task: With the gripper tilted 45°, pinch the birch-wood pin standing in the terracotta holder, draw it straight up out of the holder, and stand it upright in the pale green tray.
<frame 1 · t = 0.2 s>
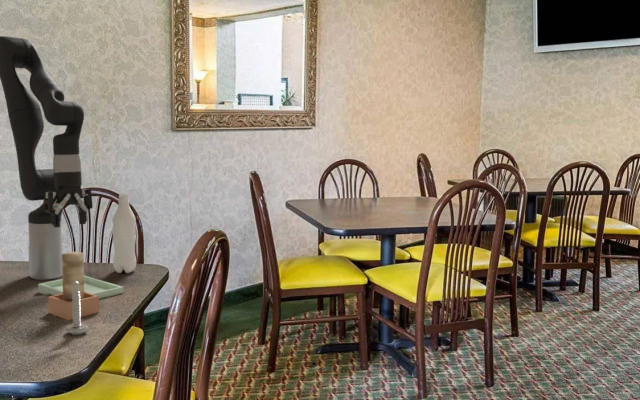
hand: (69, 225, 186), 18 cm above the table, tool pointing down, fingers open, 8 cm apart
birch pin: (74, 312, 159), point 1 cm above the table, touching terracotta holder
water bottle: (124, 272, 205), on the table
pale green tray: (80, 294, 179), on the table
terracotta holder: (74, 315, 160), on the table
screw: (77, 337, 145), on the table
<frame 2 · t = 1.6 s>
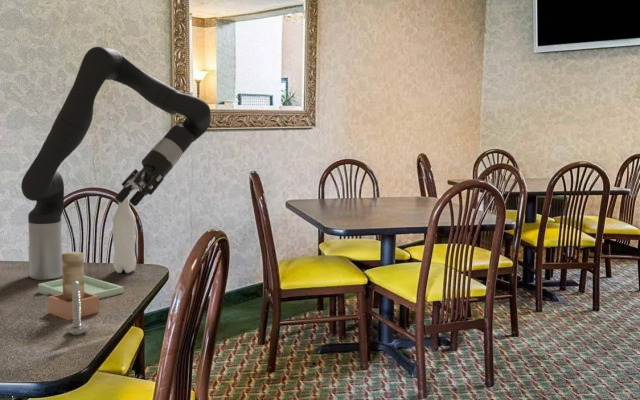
hand: (124, 202, 170), 27 cm above the table, tool tilted 45°, fingers open, 8 cm apart
nothing on the table moved.
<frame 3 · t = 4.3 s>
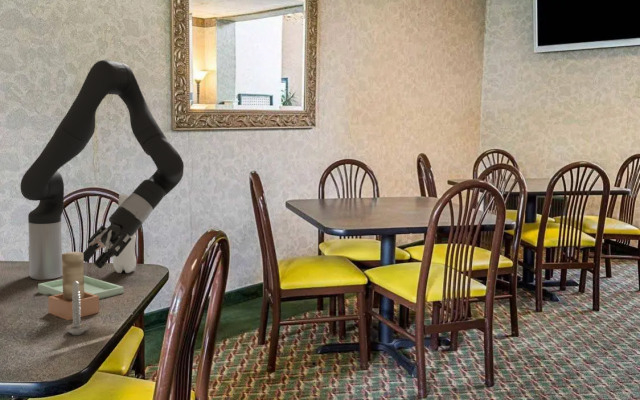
hand: (89, 263, 161), 13 cm above the table, tool tilted 45°, fingers open, 8 cm apart
nothing on the table moved.
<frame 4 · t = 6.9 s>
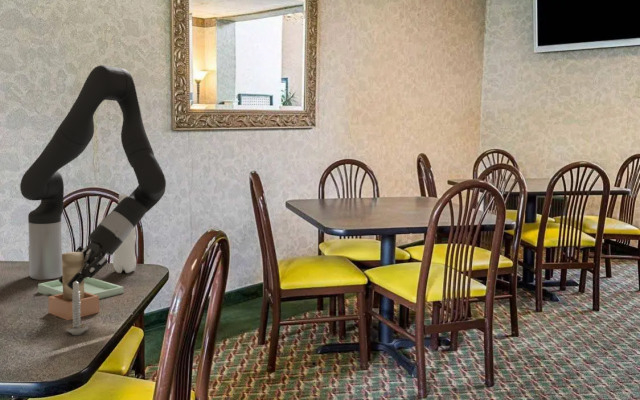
hand: (66, 285, 157), 8 cm above the table, tool tilted 45°, fingers closed on birch pin, 5 cm apart
birch pin: (74, 312, 159), point 1 cm above the table, touching gripper, terracotta holder
everything else where it was.
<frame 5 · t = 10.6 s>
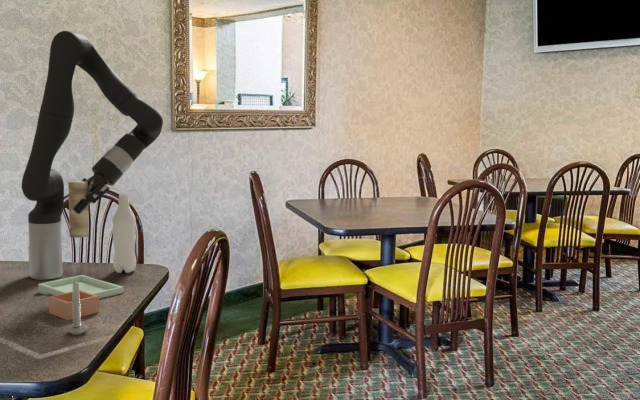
hand: (71, 210, 174), 24 cm above the table, tool tilted 45°, fingers closed on birch pin, 5 cm apart
birch pin: (79, 235, 176), point 17 cm above the table, touching gripper
everything else where it was.
when the fingers open (10 cm above the table, at t = 14.8 s): birch pin drops 2 cm, resting on pale green tray.
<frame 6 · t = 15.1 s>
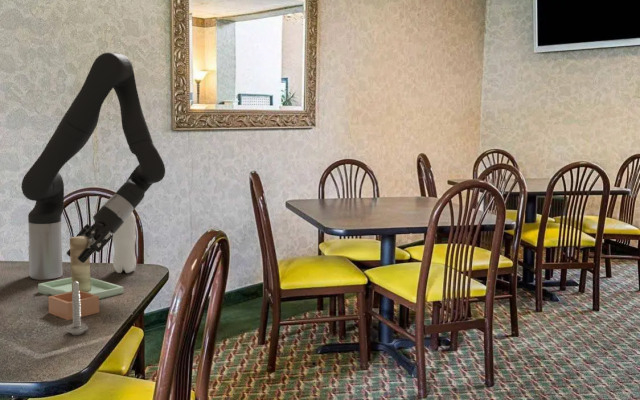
hand: (74, 258, 176), 10 cm above the table, tool tilted 45°, fingers open, 7 cm apart
birch pin: (81, 290, 179), point 1 cm above the table, touching pale green tray
everything else where it was.
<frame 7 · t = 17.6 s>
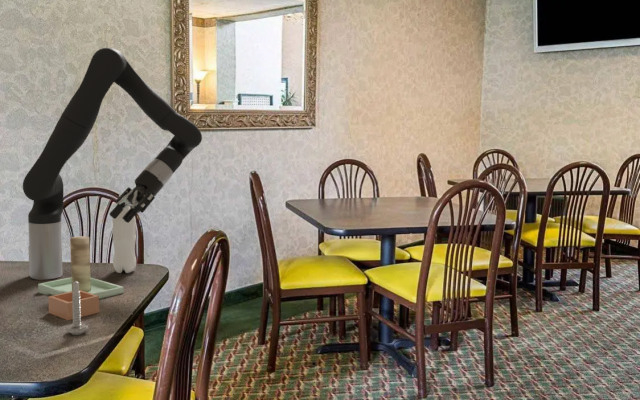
hand: (118, 218, 184), 20 cm above the table, tool tilted 45°, fingers open, 8 cm apart
nothing on the table moved.
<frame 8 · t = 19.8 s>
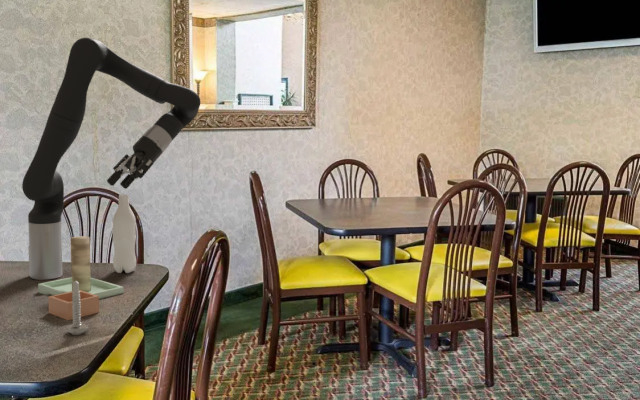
hand: (116, 185, 179), 31 cm above the table, tool tilted 45°, fingers open, 8 cm apart
nothing on the table moved.
at the end: birch pin inside the target area on the pale green tray (0.2 cm from its centre), point 1.0 cm above the pale green tray's base; birch pin tilted 0°; the gripper is holding nothing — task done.
